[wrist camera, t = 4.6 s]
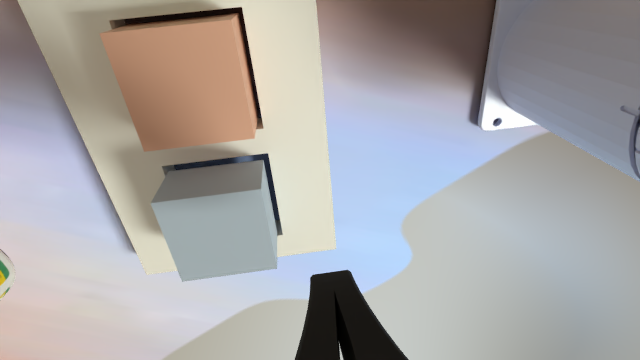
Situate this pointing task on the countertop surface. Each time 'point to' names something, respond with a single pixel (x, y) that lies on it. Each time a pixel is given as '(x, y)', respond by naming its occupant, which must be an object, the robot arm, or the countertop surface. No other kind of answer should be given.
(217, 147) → the panel
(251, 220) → the slate button
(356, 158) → the countertop surface
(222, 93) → the terracotta button
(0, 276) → the supplement bottle
